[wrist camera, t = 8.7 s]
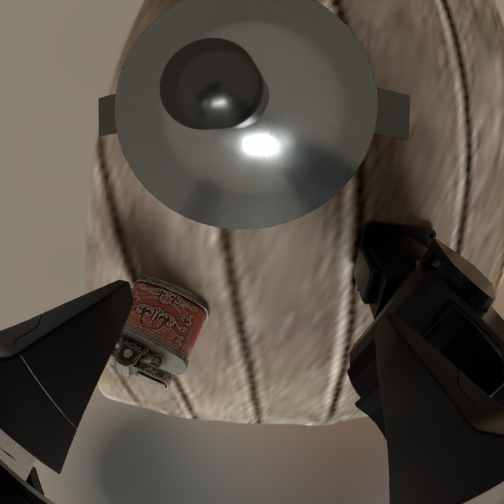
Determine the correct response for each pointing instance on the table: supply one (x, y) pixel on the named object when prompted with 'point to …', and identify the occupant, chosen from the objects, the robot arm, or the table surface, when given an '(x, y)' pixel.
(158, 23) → the lid
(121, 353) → the lighter
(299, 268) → the table surface
